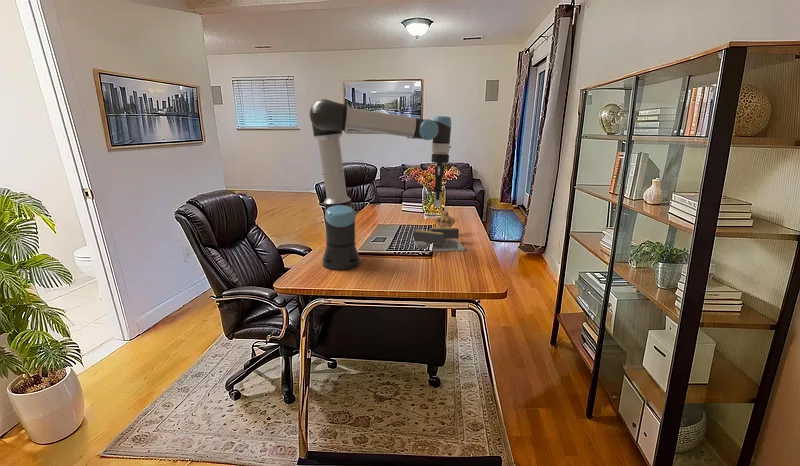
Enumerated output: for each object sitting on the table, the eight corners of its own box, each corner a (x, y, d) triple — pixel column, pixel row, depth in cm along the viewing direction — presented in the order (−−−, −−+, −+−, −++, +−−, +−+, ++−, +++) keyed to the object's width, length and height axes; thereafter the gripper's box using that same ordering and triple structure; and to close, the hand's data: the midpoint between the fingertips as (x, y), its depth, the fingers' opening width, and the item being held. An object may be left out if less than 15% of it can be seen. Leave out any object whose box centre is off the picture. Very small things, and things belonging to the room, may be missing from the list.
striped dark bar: (442, 246, 176) (442, 234, 174) (413, 242, 180) (414, 230, 178) (443, 244, 179) (444, 232, 177) (415, 240, 183) (416, 229, 181)
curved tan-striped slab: (458, 240, 186) (459, 228, 184) (430, 240, 184) (431, 228, 183) (456, 238, 189) (457, 226, 187) (429, 238, 187) (429, 227, 186)
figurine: (431, 237, 196) (433, 208, 197) (435, 238, 205) (436, 211, 206) (452, 238, 193) (454, 209, 194) (454, 239, 202) (456, 211, 203)
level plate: (417, 251, 172) (417, 247, 172) (412, 241, 188) (412, 237, 187) (465, 250, 175) (465, 246, 175) (455, 240, 190) (456, 236, 190)
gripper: (448, 154, 156) (444, 209, 163) (449, 152, 169) (446, 204, 175) (430, 153, 157) (427, 208, 164) (432, 152, 170) (430, 203, 176)
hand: (437, 206), depth 169 cm, fingers closed
